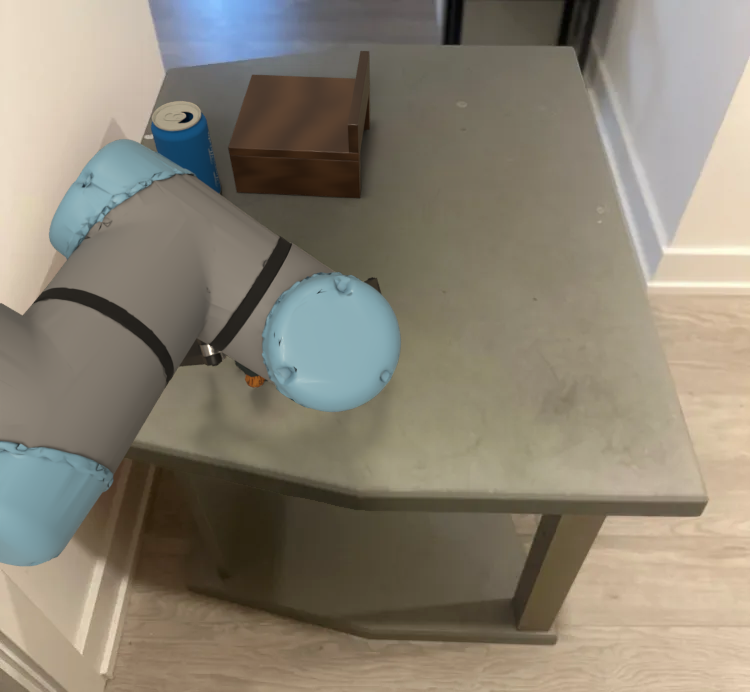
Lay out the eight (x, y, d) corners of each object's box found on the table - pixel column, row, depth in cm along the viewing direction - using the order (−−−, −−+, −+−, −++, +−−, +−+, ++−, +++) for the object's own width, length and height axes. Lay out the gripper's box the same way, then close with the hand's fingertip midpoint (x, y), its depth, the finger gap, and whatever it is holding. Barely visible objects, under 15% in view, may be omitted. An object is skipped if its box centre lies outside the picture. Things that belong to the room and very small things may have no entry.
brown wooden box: (236, 192, 95) (222, 119, 87) (258, 118, 105) (247, 46, 97) (359, 198, 95) (357, 124, 86) (370, 123, 104) (369, 50, 96)
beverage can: (217, 213, 93) (198, 132, 84) (166, 211, 93) (142, 131, 84) (225, 179, 97) (209, 99, 88) (177, 178, 97) (155, 98, 88)
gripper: (140, 432, 51) (152, 390, 72) (466, 330, 57) (391, 318, 77) (106, 328, 50) (128, 316, 71) (442, 234, 55) (372, 248, 76)
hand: (265, 317), depth 74 cm, fingers open, 13 cm apart
